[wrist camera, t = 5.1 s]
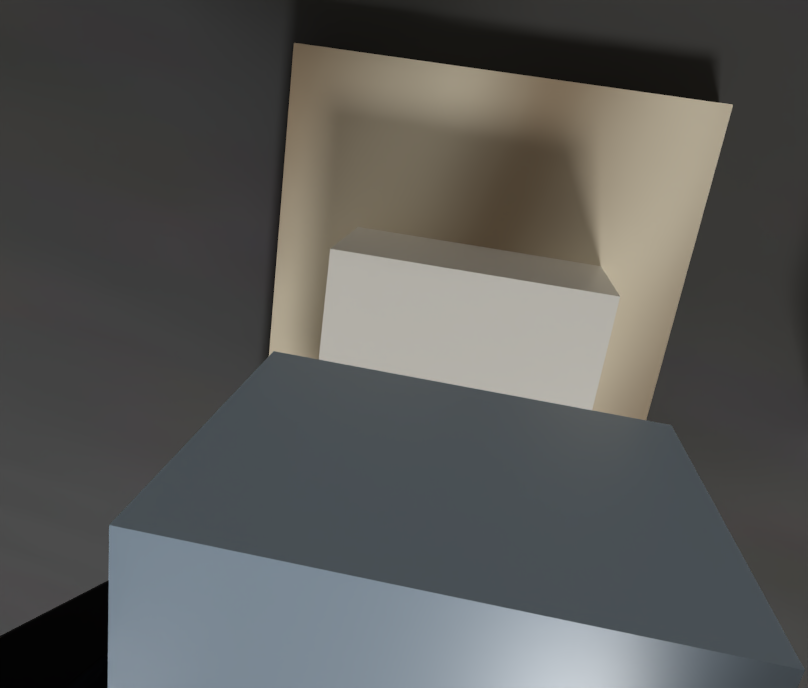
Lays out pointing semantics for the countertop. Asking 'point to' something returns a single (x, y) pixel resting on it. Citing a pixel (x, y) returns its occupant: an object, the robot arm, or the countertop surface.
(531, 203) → the base plate
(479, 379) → the lower brick
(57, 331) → the countertop surface
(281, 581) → the middle brick
